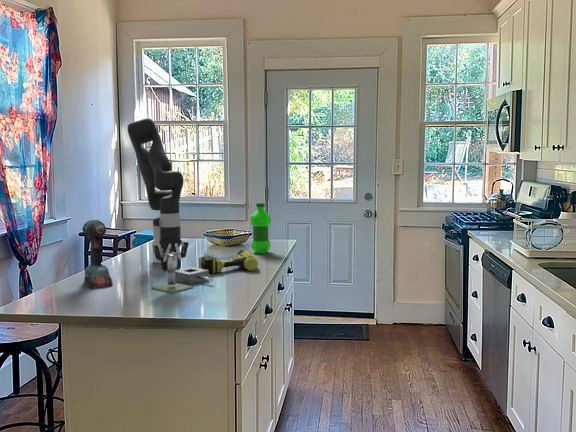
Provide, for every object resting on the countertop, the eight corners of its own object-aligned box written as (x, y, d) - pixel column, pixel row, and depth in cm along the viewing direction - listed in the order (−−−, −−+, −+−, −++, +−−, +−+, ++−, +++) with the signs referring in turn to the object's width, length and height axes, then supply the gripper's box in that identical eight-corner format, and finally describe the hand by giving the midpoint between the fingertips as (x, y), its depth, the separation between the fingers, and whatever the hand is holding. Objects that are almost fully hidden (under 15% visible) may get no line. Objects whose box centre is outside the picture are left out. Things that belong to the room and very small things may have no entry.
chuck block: (172, 281, 227) (172, 271, 226) (191, 276, 234) (191, 266, 234) (202, 287, 216) (202, 276, 216) (221, 282, 224) (221, 272, 223)
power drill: (91, 292, 210) (88, 224, 207) (82, 279, 230) (79, 217, 227) (115, 289, 214) (113, 223, 211) (104, 277, 234) (102, 216, 231)
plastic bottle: (275, 251, 289) (274, 202, 286) (263, 255, 280) (262, 204, 278) (258, 250, 295) (258, 201, 292) (246, 253, 286) (246, 203, 283)
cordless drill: (194, 263, 260) (247, 260, 268) (202, 276, 237) (261, 272, 244) (194, 248, 259) (247, 245, 267) (202, 260, 236) (261, 256, 243)
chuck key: (169, 286, 210) (168, 256, 209) (162, 283, 216) (162, 254, 215) (181, 284, 213) (180, 255, 212) (174, 282, 218) (173, 253, 217)
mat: (151, 288, 215) (151, 286, 215) (172, 283, 222) (171, 282, 222) (172, 293, 207) (172, 291, 207) (193, 288, 215) (193, 286, 215)
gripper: (156, 227, 205) (157, 274, 207) (192, 224, 213) (193, 269, 215) (147, 225, 211) (149, 271, 213) (183, 222, 219) (184, 266, 221)
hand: (171, 270), depth 214 cm, fingers closed on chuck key, 4 cm apart
